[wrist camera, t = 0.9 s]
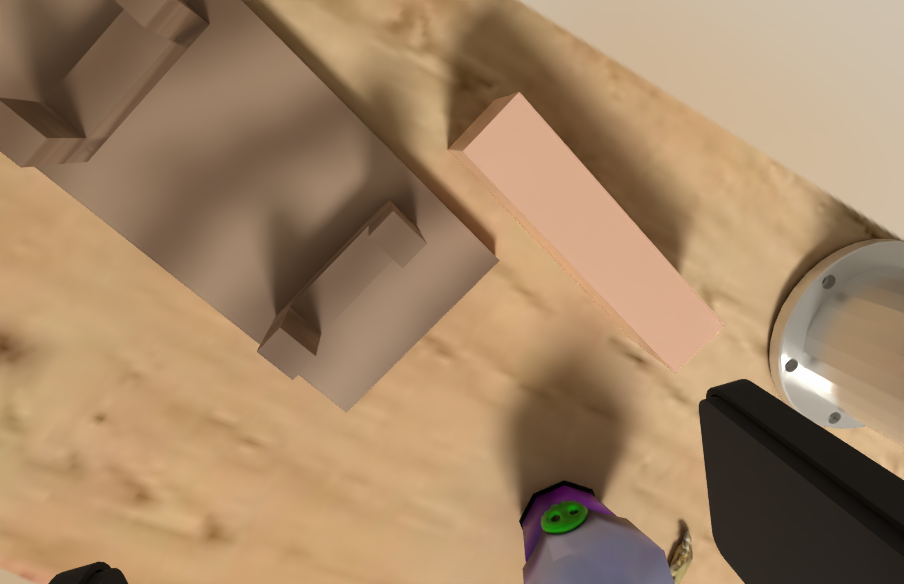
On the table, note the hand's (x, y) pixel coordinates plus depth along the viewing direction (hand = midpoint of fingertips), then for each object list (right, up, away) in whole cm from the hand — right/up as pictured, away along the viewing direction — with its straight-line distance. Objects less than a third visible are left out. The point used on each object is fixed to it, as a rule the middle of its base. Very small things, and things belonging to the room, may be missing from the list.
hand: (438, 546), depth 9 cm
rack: (-10, +10, +19) cm, 23 cm away
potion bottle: (+7, -11, +27) cm, 30 cm away
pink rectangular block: (+7, +8, +22) cm, 24 cm away
